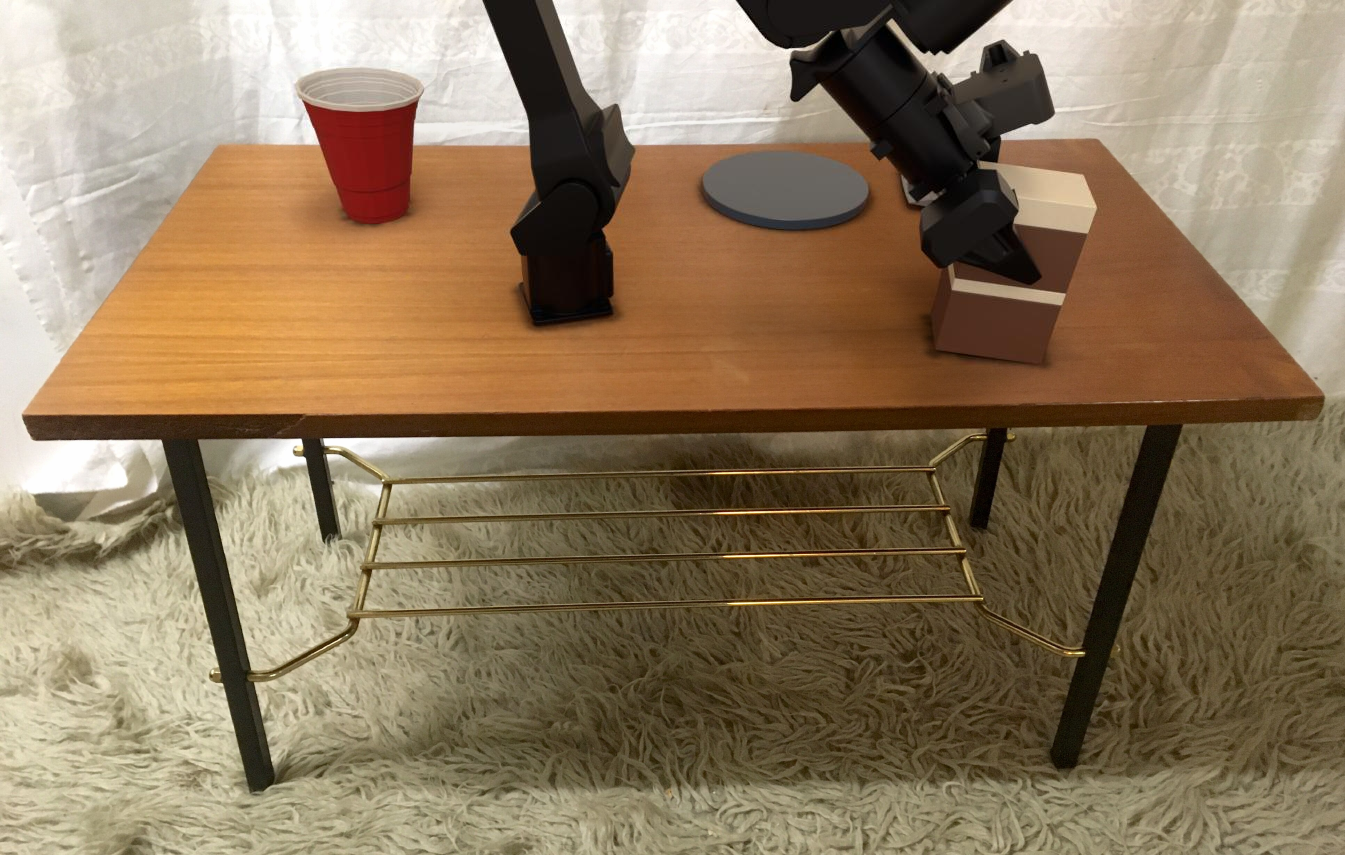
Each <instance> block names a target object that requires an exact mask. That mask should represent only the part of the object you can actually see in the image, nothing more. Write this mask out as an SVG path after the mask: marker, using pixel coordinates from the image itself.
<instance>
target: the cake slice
mask: <svg viewBox="0 0 1345 855" xmlns="http://www.w3.org/2000/svg"><path fill="white" fill-rule="evenodd" d="M979 162H980V167H981V169H996V170H997V171H998V172H999V173H1000V174H1001V175H1002V177H1003V178H1004V179H1005V180H1006V181H1007V183H1008V185H1009V186H1010V188H1011V189H1015V192H1016V196H1017V199H1018V203H1019V212H1018V214H1017V215H1016V217H1015V219H1014V223H1013V225H1014V226H1015V228H1016V230H1017V231H1018V233H1019V235H1020V237H1021V238H1022V240H1023V242H1024V244H1025V245H1026V247H1027V249H1028V251H1029V252H1030V254H1031V256H1032V257H1033V259H1034V261H1035V263H1036V265H1037V266H1038V268H1039V270H1040V272H1041V274H1042V278H1041V279H1040V280H1039V281H1037V282H1036V283H1034V284H1033V285H1030V286H1029V285H1026V284H1023V283H1020V282H1017V281H1014V280H1012V279H1009V278H1006V277H1003V276H1000V275H998V274H995V273H992V272H989V271H986V270H983V269H980V268H977V267H974V266H970V265H966V264H963V263H959V262H956V261H955V262H954V263H952V264H951V265H949V266H948V267H947V268H942V269H941V273H940V276H939V281H938V283H937V287H936V291H935V295H934V298H933V303H932V306H931V309H930V318H931V319H930V320H931V328H932V337H933V345H934V350H935V351H941V352H949V353H957V354H963V355H970V356H977V357H984V358H990V359H997V360H1005V361H1011V362H1019V363H1026V364H1033V365H1041V364H1042V362H1043V360H1044V357H1045V354H1046V351H1047V348H1048V346H1049V344H1050V343H1049V342H1050V340H1051V337H1052V335H1053V331H1054V329H1055V326H1056V323H1057V321H1058V317H1059V315H1060V312H1061V310H1062V306H1063V304H1064V301H1065V298H1066V295H1067V293H1068V289H1069V287H1070V284H1071V281H1072V279H1073V277H1074V273H1075V270H1076V268H1077V265H1078V262H1079V259H1080V256H1081V254H1082V252H1083V248H1084V245H1085V242H1086V240H1087V237H1088V234H1089V233H1090V232H1089V231H1090V229H1091V226H1092V223H1093V221H1094V218H1095V214H1096V212H1097V209H1098V207H1097V206H1098V205H1097V204H1096V202H1095V199H1094V197H1093V195H1092V192H1091V190H1090V187H1089V186H1088V182H1087V180H1086V178H1085V175H1084V174H1081V173H1075V172H1066V171H1059V170H1051V169H1044V168H1036V167H1028V166H1021V165H1015V164H1014V165H1013V164H1008V163H1007V164H1006V163H999V162H998V163H992V162H984V161H979Z"/></svg>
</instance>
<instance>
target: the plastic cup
mask: <svg viewBox="0 0 1345 855" xmlns="http://www.w3.org/2000/svg"><path fill="white" fill-rule="evenodd" d="M293 87H294V90H295V91H296V94H297V97H298V99H300V100H301V102H302V103H303V105H304V108H305V111H306V112H307V115H308V118H309V121H310V124H311V127H312V129H313V130H314V133H315V136H316V138H317V141H318V144H319V147H320V150H321V154H322V156H323V158H324V161H325V164H326V167H327V170H328V173H329V175H330V178H331V181H332V184H333V185H334V186H335V189H336V192H337V195H338V197H339V200H340V203H341V206H342V208H343V211H344V212H345V214H346V216H347V218H348V219H351V220H352V221H353V222H358V223H362V224H382V223H389V222H391V221H394V220H397V219H399V218H401V217H403V216H405V214H407V212H408V210H409V203H410V201H411V176H412V174H413V173H412V172H413V155H414V154H413V153H414V135H415V121H416V119H417V118H416V117H417V110H418V108H419V101H420V99H421V97H422V95H424V91H425V86H424V84H423V83H422V82H421V80H420V79H418V78H416V77H413V76H412V75H410V74H407V73H404V72H399V71H395V70H390V69H387V68H386V69H385V68H375V67H373V68H372V67H337V68H331V69H325V70H318V71H314V72H311V73H309V74H306V75H303V76H300V78H299V79H298V80H297V81H296V82H295V83H294V84H293Z"/></svg>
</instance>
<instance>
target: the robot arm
mask: <svg viewBox="0 0 1345 855" xmlns="http://www.w3.org/2000/svg"><path fill="white" fill-rule="evenodd" d="M481 1H482V4H483V6H484V8H485V12H486V14H487V16H488V19H489V21H490V24H491V27H492V30H493V32H494V35H495V37H496V40H497V42H498V44H499V48H500V49H501V52H502V55H503V57H504V60H505V63H506V65H507V68H508V71H509V72H510V75H511V77H512V80H513V84H514V86H515V89H516V91H517V93H518V96H519V98H520V101H521V103H522V106H523V109H524V111H525V114H526V117H527V123H528V140H529V141H528V142H529V157H530V158H529V159H530V160H529V161H530V169H531V173H532V178H533V183H534V189H533V191H532V193H531V194H530V196H529V197H528V199H527V201H526V203H525V205H524V206H523V208H521V209H522V210H521V211H520V213H519V215H518V216H517V218H516V219H515V222H514V223H513V225H512V226H511V228H510V230H509V235H510V237H511V239H512V242H513V243H514V246H515V248H516V250H517V252H518V254H519V255H520V261H521V262H520V263H521V276H522V277H521V278H522V281H520V282H519V283H518V289H519V293H520V295H521V298H522V300H523V304H524V306H525V308H526V311H527V313H528V316H529V319H530V322H531V324H532V325H533V326H535V327H542V326H549V325H556V324H564V323H571V322H577V321H583V320H584V321H585V320H591V319H599V318H605V317H610V316H613V314H614V307H613V305H612V303H611V301H610V299H612V298H613V296H614V295H615V288H614V287H615V286H614V284H615V282H614V252H613V250H612V248H611V246H610V245H609V243H608V241H607V236H606V234H605V232H604V230H603V229H604V228H605V227H606V226H608V225H609V224H610V222H611V221H612V219H613V218H614V215H615V213H616V211H617V209H618V206H619V204H620V202H621V199H622V198H623V195H624V192H625V190H626V187H627V185H628V183H629V180H630V178H631V173H632V172H631V171H632V161H633V159H634V156H635V154H636V151H637V150H636V148H635V147H634V145H633V144H632V143H631V142H630V140H629V138H628V136H627V134H626V132H625V128H624V123H623V117H622V112H621V107H620V105H619V104H618V103H615V102H614V103H613V104H610V105H608V106H606V107H604V108H601V107H600V106H599V104H598V103H597V102H596V101H595V100H594V99H593V98H592V97H591V96H590V94H589V93H588V91H587V90H586V89H585V86H584V84H583V82H582V79H581V77H580V74H579V71H578V68H577V66H576V62H575V59H574V57H573V53H572V51H571V48H570V45H569V42H568V40H567V38H566V34H565V31H564V28H563V25H562V23H561V20H560V17H559V14H558V12H557V9H556V6H555V2H554V0H481ZM1013 1H1014V0H735V2H736V3H737V4H738V5H739V7H740V9H742V11H743V12H744V14H745V15H746V16H747V17H748V19H749V20H750V21H751V23H752V24H753V25H754V27H755V28H756V30H757V32H759V34H760V35H761V36H762V37H763V38H764V39H765V40H766V41H767V42H769V43H771V44H772V45H773V46H775V47H777V48H781V49H784V50H789V49H791V50H792V49H793V50H792V51H791V52H790V57H789V62H788V65H789V68H790V72H791V74H790V75H791V86H790V93H789V99H790V101H791V102H793V103H798V102H800V101H801V100H802V99H803V98H805V97H806V96H807V95H808V94H809V93H811V91H813V89H814V88H816V87H817V86H818V85H820V86H821V87H822V89H823V90H825V91H826V93H827V94H828V95H829V96H830V97H831V98H832V100H834V102H835V103H836V104H837V105H838V106H839V107H840V109H841V110H842V111H843V112H844V113H845V114H846V115H847V116H848V117H849V119H851V121H852V122H854V124H855V125H856V126H857V127H858V128H859V130H861V132H863V134H864V135H865V136H866V137H867V138H868V139H869V152H870V153H871V155H873V156H874V157H875V158H876V159H877V160H878V161H879V162H881V160H883V159H884V158H886V159H887V160H888V161H889V163H890V164H891V165H892V166H893V167H894V168H895V170H897V171H898V172H899V173H900V175H901V174H902V176H903V177H904V178H905V179H906V180H907V187H908V193H909V194H910V196H911V197H912V198H913V199H914V200H915V201H916V202H919V201H920V200H921V199H923V198H924V197H925V196H927V195H928V194H929V193H930V192H932V191H933V193H934V194H936V195H937V196H938V198H936V199H935V200H934V201H933V202H931V203H930V204H929V205H927V206H924V207H923V208H922V209H921V211H920V218H919V224H918V229H919V230H918V231H919V244H920V251H921V252H922V253H923V254H924V255H925V256H926V257H927V258H928V259H929V261H930V262H931V263H932V264H933V265H934V266H935V267H936V268H937V269H938V270H942V269H943V268H947V267H948V266H949V265H951V264H952V263H954V262H955V261H956V262H959V263H963V264H966V265H970V266H974V267H977V268H980V269H983V270H986V271H989V272H992V273H995V274H998V275H1000V276H1003V277H1006V278H1009V279H1012V280H1014V281H1017V282H1020V283H1023V284H1026V285H1029V286H1030V285H1033V284H1034V283H1036V282H1037V281H1039V280H1040V279H1041V278H1042V274H1041V272H1040V270H1039V268H1038V266H1037V265H1036V263H1035V261H1034V259H1033V257H1032V256H1031V254H1030V252H1029V251H1028V249H1027V247H1026V245H1025V244H1024V242H1023V240H1022V238H1021V237H1020V235H1019V233H1018V231H1017V230H1016V228H1015V226H1014V225H1013V223H1014V219H1015V217H1016V215H1017V214H1018V212H1019V203H1018V199H1017V196H1016V192H1015V189H1011V188H1010V186H1009V185H1008V183H1007V181H1006V180H1005V179H1004V178H1003V177H1002V175H1001V174H1000V173H999V172H998V171H997V170H996V169H981V167H980V162H979V161H984V162H992V163H999V158H1000V152H1001V144H1002V137H1001V135H1005V134H1008V133H1010V132H1013V131H1016V130H1018V129H1022V128H1024V127H1026V126H1027V127H1028V126H1030V125H1034V126H1038V125H1041V124H1043V123H1045V122H1047V121H1049V120H1051V119H1052V118H1053V117H1054V116H1055V115H1056V110H1055V105H1054V102H1053V99H1052V95H1051V92H1050V87H1049V85H1048V81H1047V78H1046V74H1045V70H1044V67H1043V65H1042V62H1041V58H1040V57H1039V55H1038V54H1037V53H1035V52H1034V53H1032V52H1031V51H1030V50H1029V49H1026V50H1023V51H1022V55H1021V54H1020V53H1019V52H1018V51H1017V50H1016V49H1015V48H1014V47H1013V46H1012V45H1010V43H1009V42H1007V41H1006V39H1003V38H1002V39H1000V40H997V41H995V42H992V43H990V44H987V45H985V46H983V47H982V53H981V58H980V62H979V68H978V72H977V70H973V71H970V73H969V74H970V77H968V78H966V79H963V80H962V81H959V82H957V83H952V82H951V80H950V79H949V78H948V77H947V76H946V75H945V74H944V73H943V72H940V73H938V72H937V71H936V70H933V71H932V72H931V73H930V71H928V69H927V68H926V67H925V66H924V65H923V63H922V62H921V60H919V59H918V57H917V55H915V54H914V53H913V52H912V50H911V49H910V48H909V47H908V46H907V45H906V43H905V42H904V40H902V38H901V37H900V36H899V35H898V34H897V33H896V31H894V30H893V28H892V27H891V26H890V25H889V22H890V21H891V20H893V22H894V23H895V24H896V25H897V27H898V28H899V29H900V30H901V32H902V33H903V34H904V36H905V37H906V38H907V39H908V41H910V43H911V44H912V45H913V46H914V47H915V48H916V49H917V50H918V51H919V52H920V53H921V54H924V55H926V54H928V53H930V54H932V56H934V57H936V56H937V55H938V54H939V53H940V52H942V53H944V54H945V55H947V56H948V55H951V53H953V51H955V50H956V49H957V48H958V47H960V46H961V45H962V44H963V43H964V42H966V41H967V40H968V39H969V38H971V37H972V36H973V35H974V34H975V33H977V32H978V31H979V30H980V29H982V27H983V26H985V25H986V24H987V23H988V22H989V21H991V20H992V19H993V18H994V17H995V16H997V15H998V14H1000V12H1002V11H1003V10H1004V9H1005V8H1006V7H1008V6H1009V5H1010V4H1011V3H1012V2H1013ZM813 45H816V46H814V48H812V49H808V50H798V49H805V48H808V47H810V46H813ZM1030 52H1031V53H1030Z"/></svg>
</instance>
